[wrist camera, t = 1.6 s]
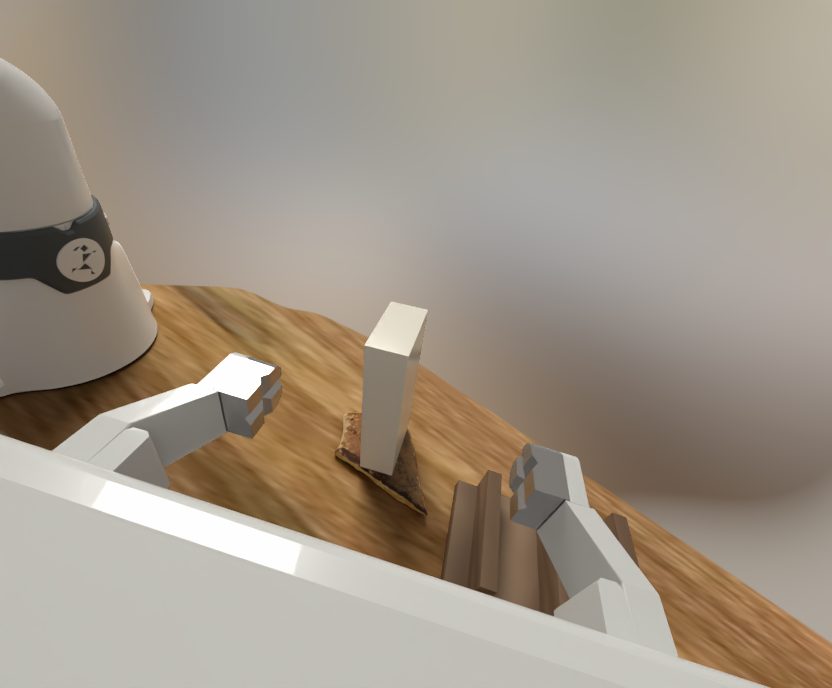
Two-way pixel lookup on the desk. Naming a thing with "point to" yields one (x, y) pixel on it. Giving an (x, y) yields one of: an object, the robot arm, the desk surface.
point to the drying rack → (506, 549)
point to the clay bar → (390, 384)
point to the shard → (397, 485)
